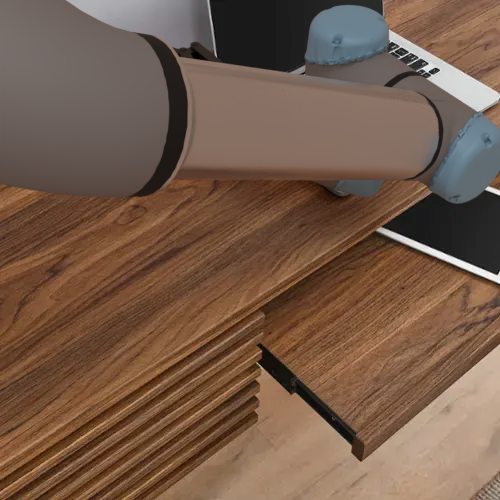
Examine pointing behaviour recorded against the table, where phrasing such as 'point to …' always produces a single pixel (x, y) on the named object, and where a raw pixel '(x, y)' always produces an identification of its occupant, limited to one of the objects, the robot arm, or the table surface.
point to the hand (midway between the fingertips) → (98, 73)
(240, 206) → the table surface
